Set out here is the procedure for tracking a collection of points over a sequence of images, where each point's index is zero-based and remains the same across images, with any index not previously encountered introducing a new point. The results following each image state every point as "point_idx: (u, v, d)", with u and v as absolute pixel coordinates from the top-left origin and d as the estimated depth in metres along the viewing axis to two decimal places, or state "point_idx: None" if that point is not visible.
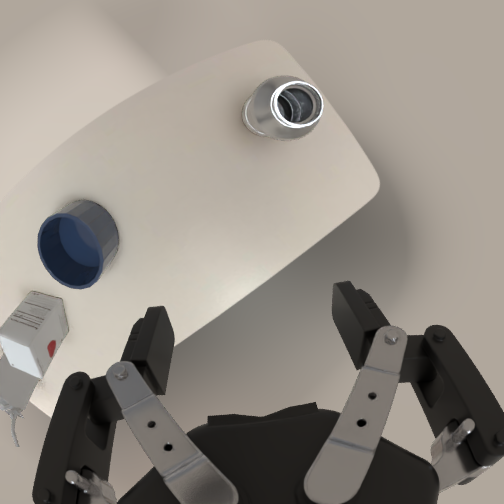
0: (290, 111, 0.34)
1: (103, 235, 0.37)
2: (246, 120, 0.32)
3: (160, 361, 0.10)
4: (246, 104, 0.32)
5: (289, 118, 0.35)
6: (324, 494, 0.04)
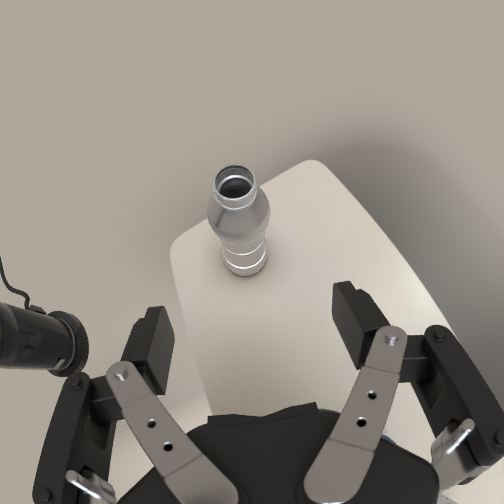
0: None
1: None
2: (249, 268, 0.37)
3: (160, 361, 0.10)
4: (233, 267, 0.37)
5: None
6: (324, 494, 0.04)
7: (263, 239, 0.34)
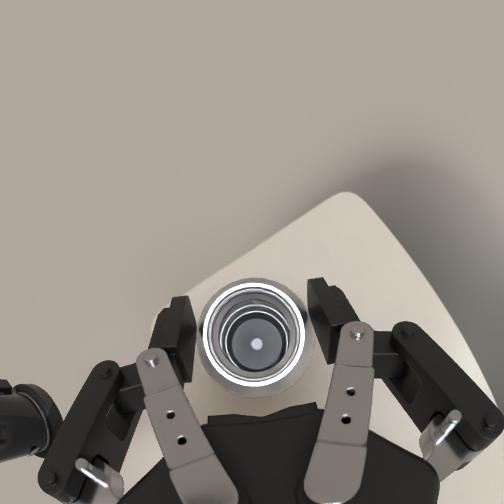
0: (255, 311, 0.27)
1: None
2: None
3: (187, 349, 0.11)
4: None
5: (265, 313, 0.27)
6: (324, 494, 0.04)
7: None
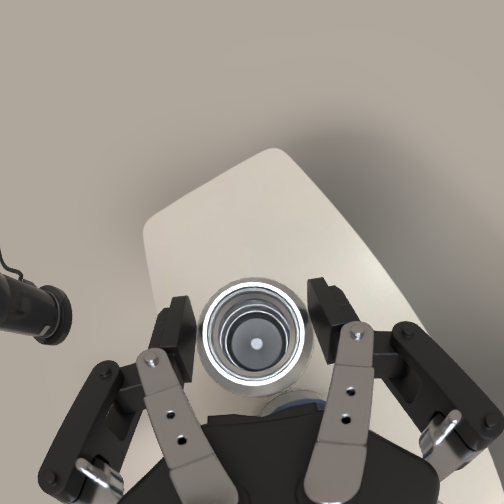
0: None
1: (294, 397, 0.33)
2: None
3: (187, 349, 0.11)
4: None
5: (265, 313, 0.27)
6: (324, 494, 0.04)
7: None
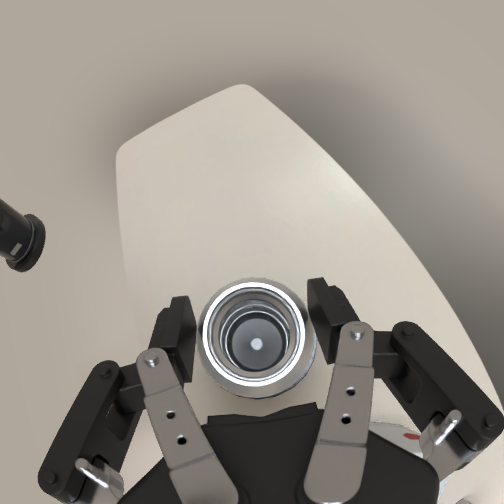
0: (255, 311, 0.27)
1: None
2: None
3: (187, 349, 0.11)
4: None
5: (265, 313, 0.27)
6: (324, 494, 0.04)
7: None
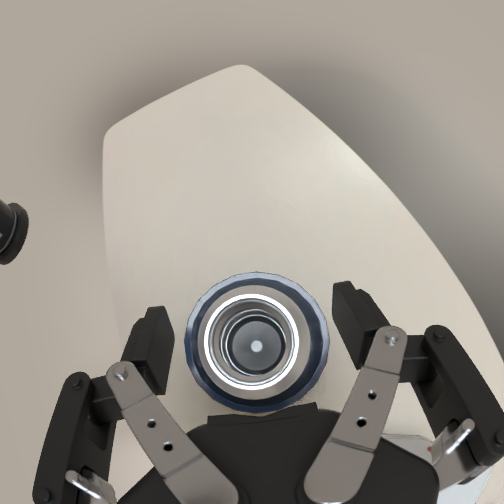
0: None
1: None
2: None
3: (160, 361, 0.10)
4: None
5: (264, 316, 0.28)
6: (324, 494, 0.04)
7: None
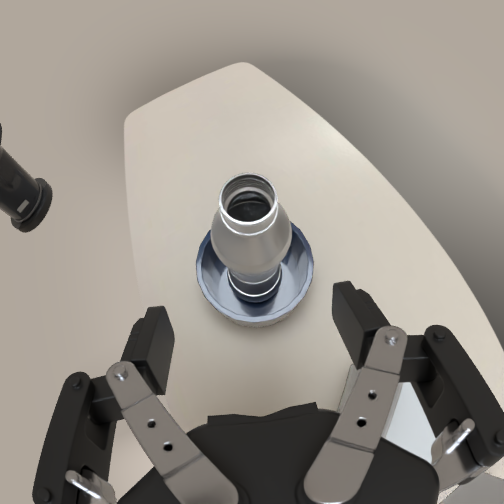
0: None
1: None
2: (261, 296, 0.31)
3: (160, 361, 0.10)
4: (242, 294, 0.31)
5: None
6: (324, 494, 0.04)
7: None
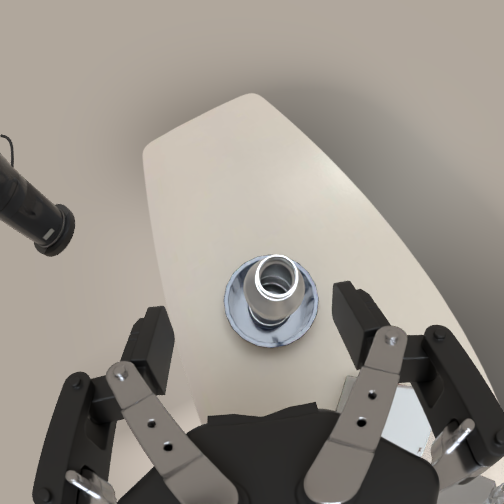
0: (268, 285, 0.42)
1: None
2: (276, 325, 0.38)
3: (160, 361, 0.10)
4: (260, 323, 0.38)
5: (275, 286, 0.42)
6: (324, 494, 0.04)
7: None
